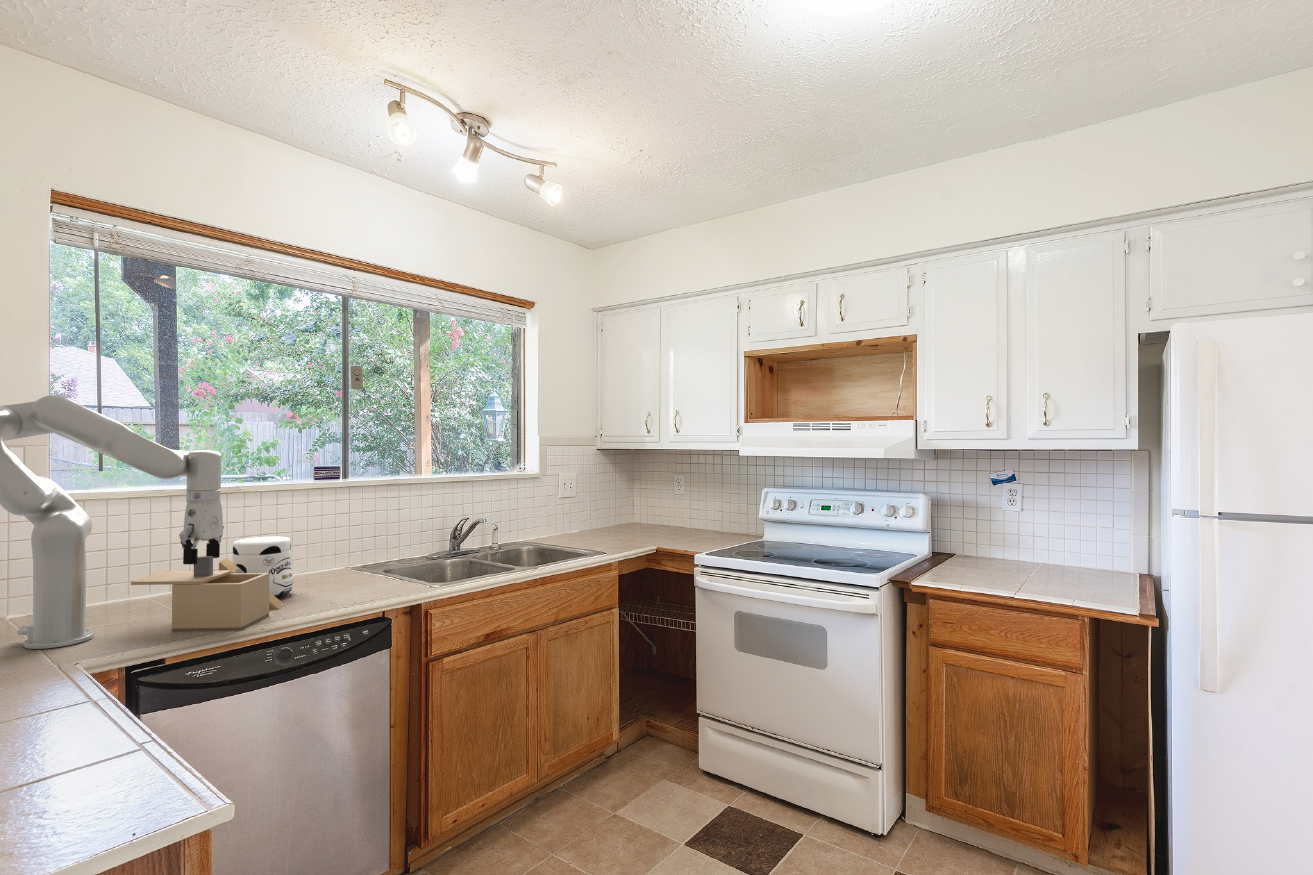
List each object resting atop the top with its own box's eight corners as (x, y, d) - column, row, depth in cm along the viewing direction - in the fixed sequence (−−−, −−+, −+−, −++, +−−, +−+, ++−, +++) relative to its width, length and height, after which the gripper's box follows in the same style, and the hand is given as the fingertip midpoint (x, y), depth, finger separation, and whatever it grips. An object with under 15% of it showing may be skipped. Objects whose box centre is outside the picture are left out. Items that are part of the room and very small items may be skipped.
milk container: (296, 599, 202) (296, 541, 203) (229, 607, 193) (230, 546, 193) (290, 588, 217) (291, 534, 217) (228, 595, 207) (228, 538, 207)
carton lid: (130, 584, 167) (131, 562, 167) (167, 573, 181) (167, 552, 181) (200, 584, 168) (200, 561, 168) (231, 573, 182) (232, 552, 182)
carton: (171, 631, 168) (172, 584, 168) (205, 617, 182) (205, 573, 182) (241, 630, 169) (241, 583, 169) (269, 616, 183) (269, 573, 183)
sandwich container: (280, 610, 190) (280, 558, 190) (218, 615, 184) (218, 562, 184) (284, 603, 198) (285, 553, 198) (225, 608, 192) (225, 557, 192)
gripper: (198, 499, 167) (196, 566, 166) (236, 494, 184) (234, 555, 184) (167, 499, 166) (165, 566, 166) (208, 494, 183) (206, 555, 183)
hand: (201, 560), depth 175 cm, fingers open, 9 cm apart
